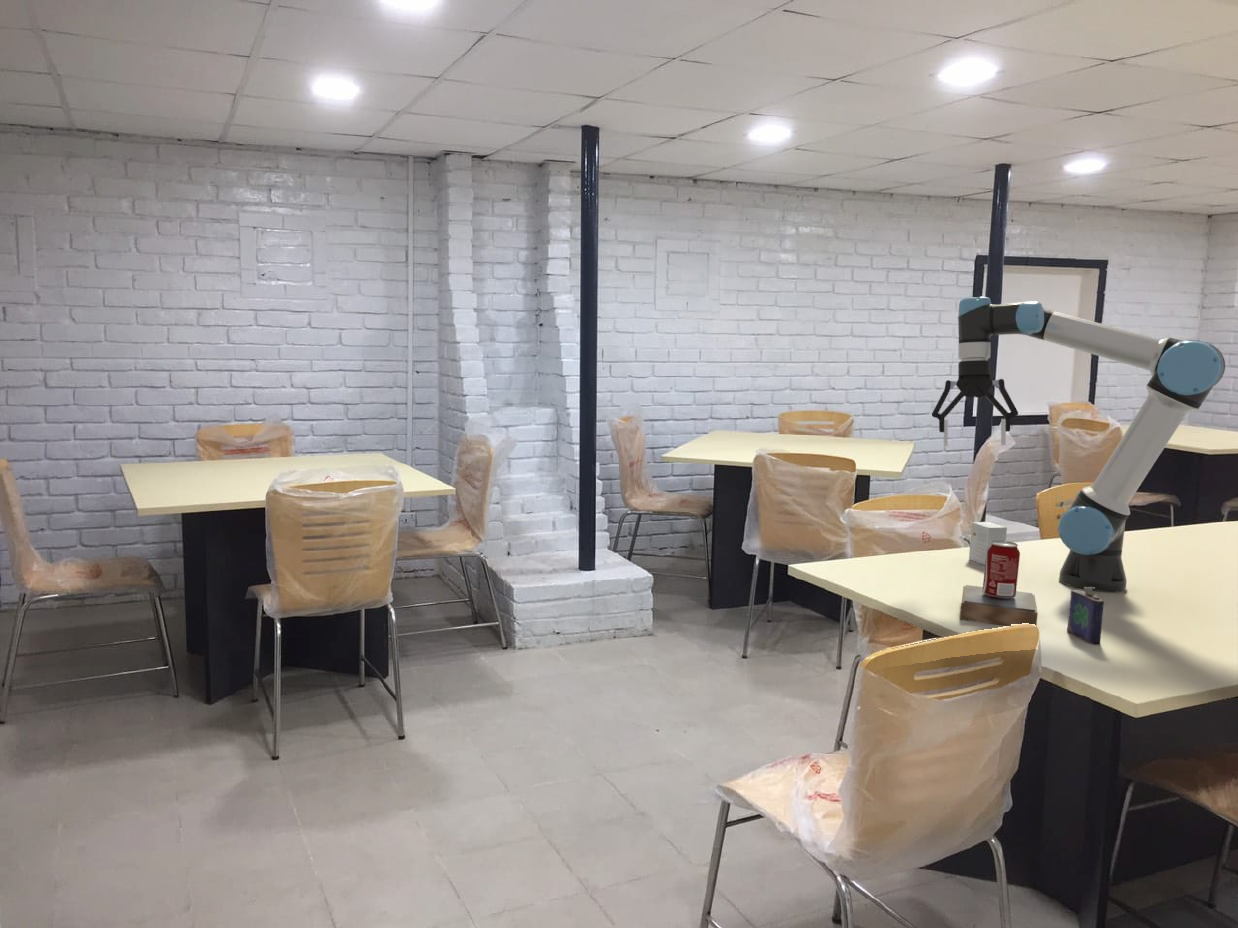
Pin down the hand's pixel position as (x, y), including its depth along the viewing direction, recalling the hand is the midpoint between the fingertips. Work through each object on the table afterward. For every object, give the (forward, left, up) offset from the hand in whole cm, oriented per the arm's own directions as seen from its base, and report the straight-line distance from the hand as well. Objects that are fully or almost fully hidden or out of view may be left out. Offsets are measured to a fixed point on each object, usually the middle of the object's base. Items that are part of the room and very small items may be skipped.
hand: (974, 445), depth 243 cm
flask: (-25, +44, -34) cm, 61 cm away
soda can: (-8, +35, -30) cm, 47 cm away
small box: (-6, -19, -34) cm, 39 cm away
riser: (-8, +35, -33) cm, 49 cm away
